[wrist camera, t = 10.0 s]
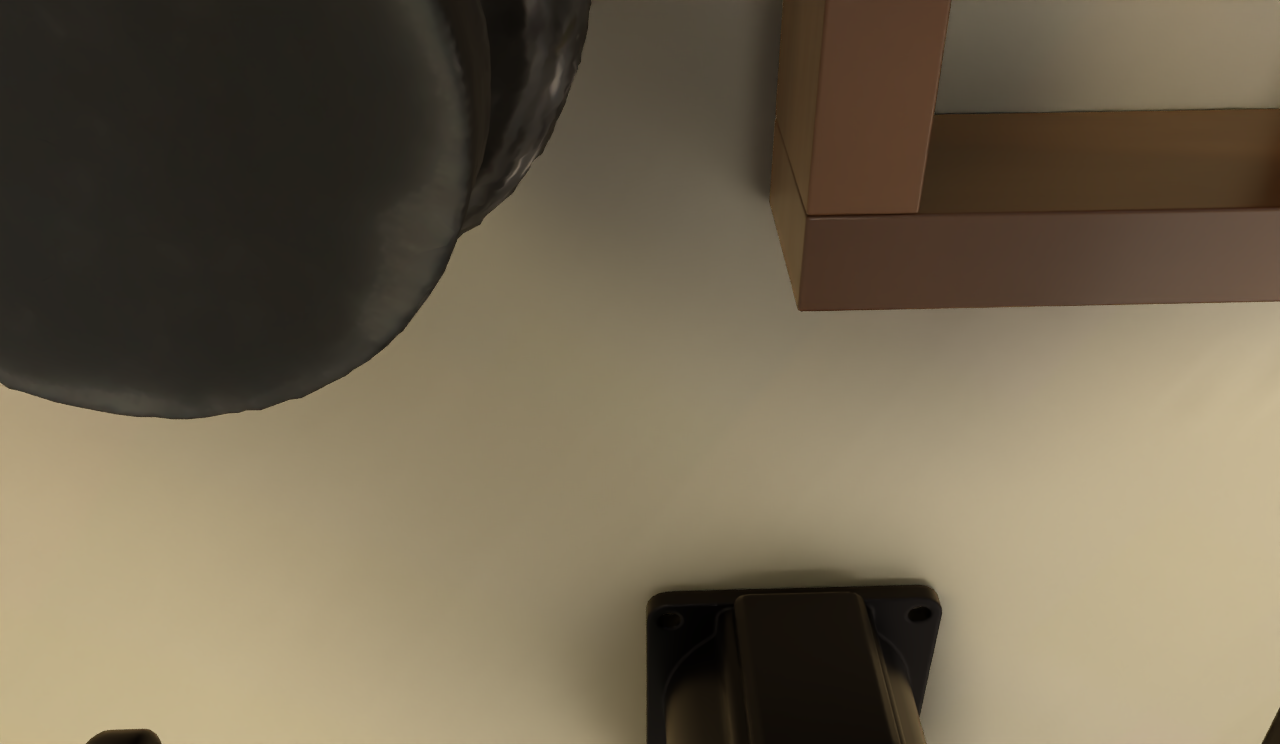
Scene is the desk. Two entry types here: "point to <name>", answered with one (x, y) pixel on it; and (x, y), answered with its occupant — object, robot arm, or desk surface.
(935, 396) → the desk surface
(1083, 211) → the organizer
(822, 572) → the desk surface
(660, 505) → the desk surface
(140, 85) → the pill bottle
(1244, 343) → the desk surface
